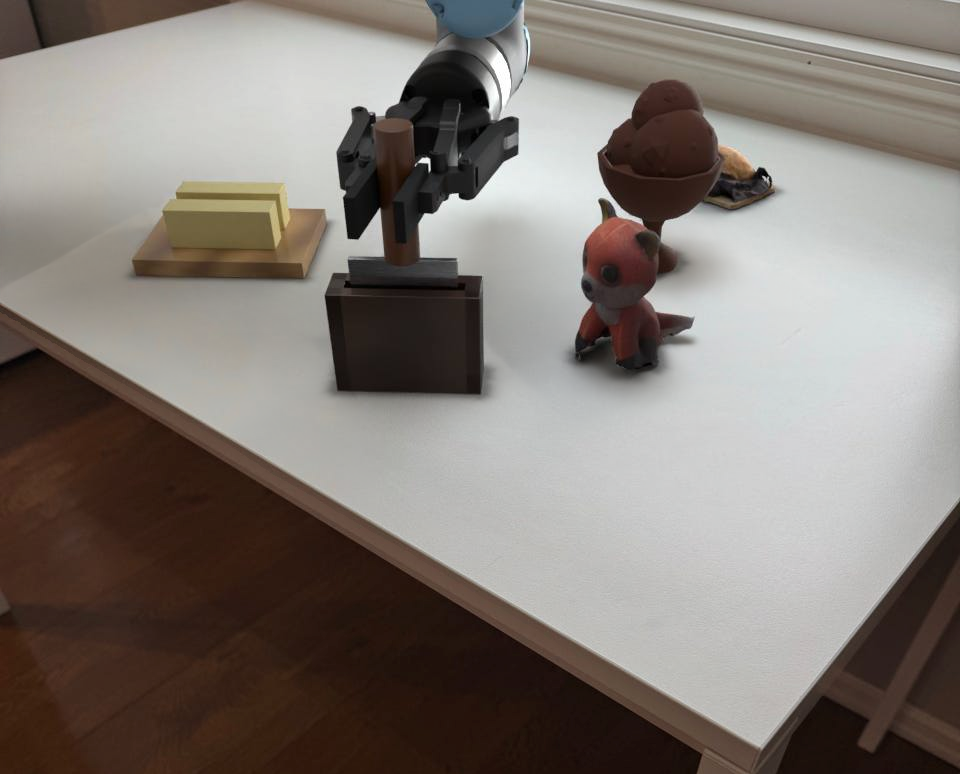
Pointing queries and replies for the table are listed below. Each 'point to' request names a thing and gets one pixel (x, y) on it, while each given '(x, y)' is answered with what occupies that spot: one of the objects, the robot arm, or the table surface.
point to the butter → (227, 215)
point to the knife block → (407, 337)
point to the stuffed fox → (624, 292)
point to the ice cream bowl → (662, 159)
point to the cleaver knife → (399, 259)
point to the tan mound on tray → (738, 182)
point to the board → (236, 253)
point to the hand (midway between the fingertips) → (375, 220)
